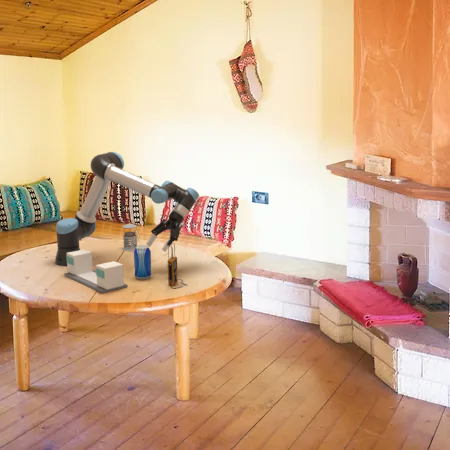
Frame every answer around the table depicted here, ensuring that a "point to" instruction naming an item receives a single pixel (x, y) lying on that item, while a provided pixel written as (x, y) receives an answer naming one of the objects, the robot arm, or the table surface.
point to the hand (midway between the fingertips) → (155, 247)
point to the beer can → (142, 262)
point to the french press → (130, 237)
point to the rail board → (94, 272)
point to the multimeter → (172, 269)
